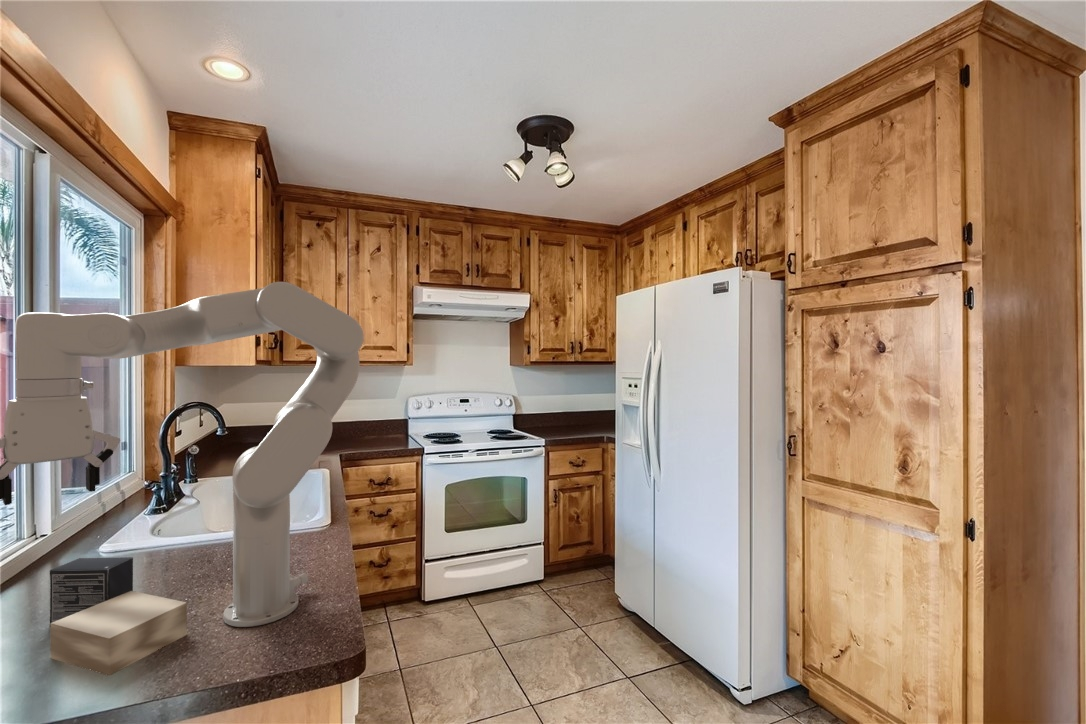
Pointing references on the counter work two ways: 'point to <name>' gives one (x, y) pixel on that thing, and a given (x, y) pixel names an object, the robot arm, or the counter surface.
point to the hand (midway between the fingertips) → (50, 496)
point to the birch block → (118, 631)
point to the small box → (88, 584)
